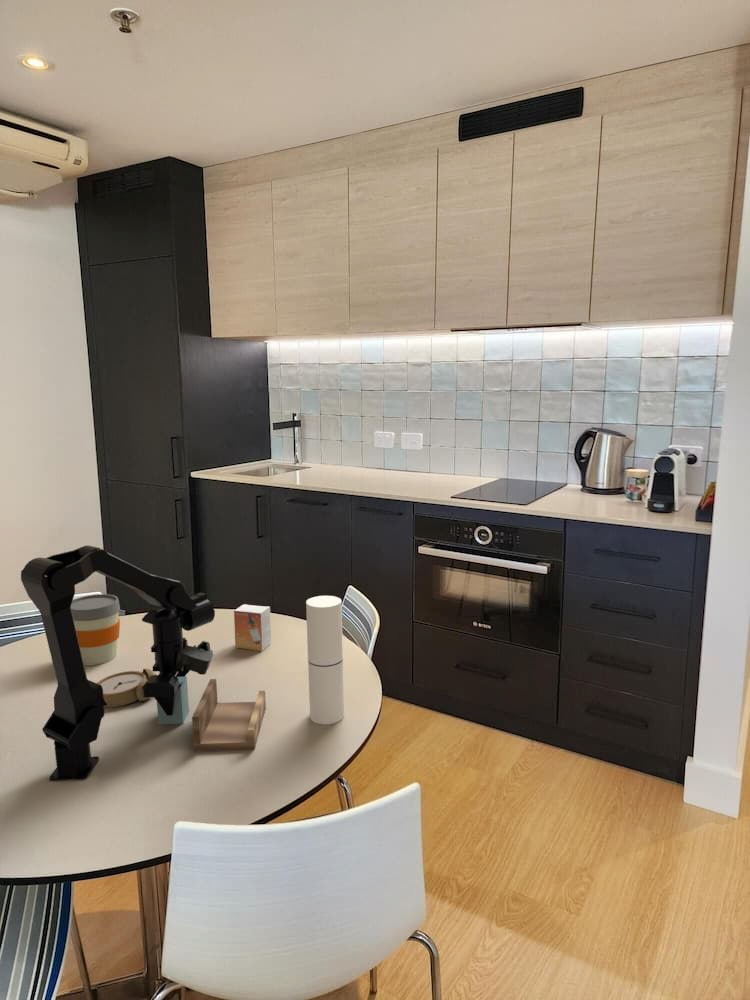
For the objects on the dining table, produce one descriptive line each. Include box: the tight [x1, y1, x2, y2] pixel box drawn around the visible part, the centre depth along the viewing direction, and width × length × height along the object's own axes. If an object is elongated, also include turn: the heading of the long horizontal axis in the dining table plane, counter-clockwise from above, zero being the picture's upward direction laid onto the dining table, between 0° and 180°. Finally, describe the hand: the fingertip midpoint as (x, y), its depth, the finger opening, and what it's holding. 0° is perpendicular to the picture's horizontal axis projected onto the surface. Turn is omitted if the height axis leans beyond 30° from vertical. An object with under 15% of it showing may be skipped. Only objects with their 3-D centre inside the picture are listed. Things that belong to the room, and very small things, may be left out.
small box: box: [233, 603, 272, 652], centre depth 171 cm, size 8×6×10 cm
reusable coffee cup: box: [71, 593, 121, 666], centre depth 165 cm, size 13×13×15 cm
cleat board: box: [191, 678, 267, 752], centre depth 131 cm, size 16×11×7 cm
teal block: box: [156, 675, 190, 725], centre depth 135 cm, size 5×5×8 cm
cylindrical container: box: [305, 595, 345, 725], centre depth 133 cm, size 7×7×25 cm
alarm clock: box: [96, 667, 157, 708], centre depth 146 cm, size 11×5×15 cm
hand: (173, 708), depth 135 cm, fingers closed on teal block, 5 cm apart
